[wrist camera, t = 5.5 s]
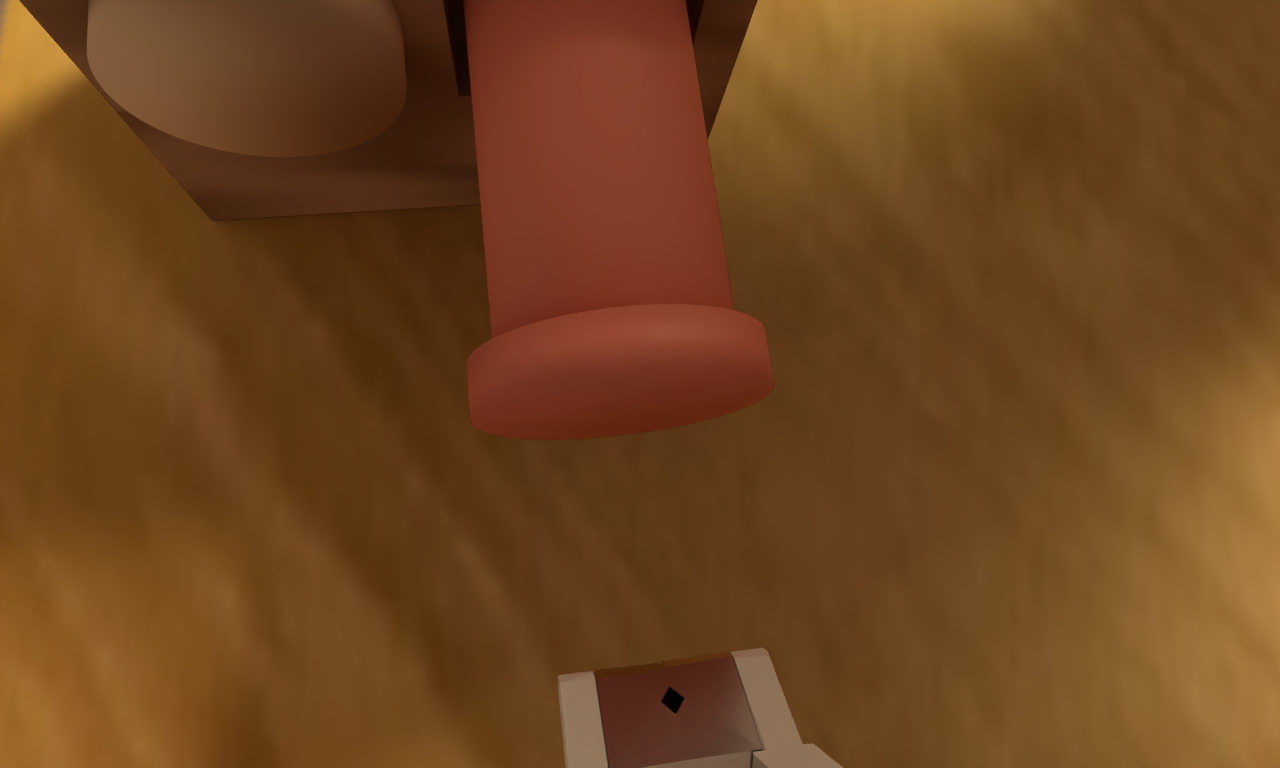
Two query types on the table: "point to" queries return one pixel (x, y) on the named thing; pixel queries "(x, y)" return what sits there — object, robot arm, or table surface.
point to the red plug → (600, 226)
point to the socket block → (313, 94)
